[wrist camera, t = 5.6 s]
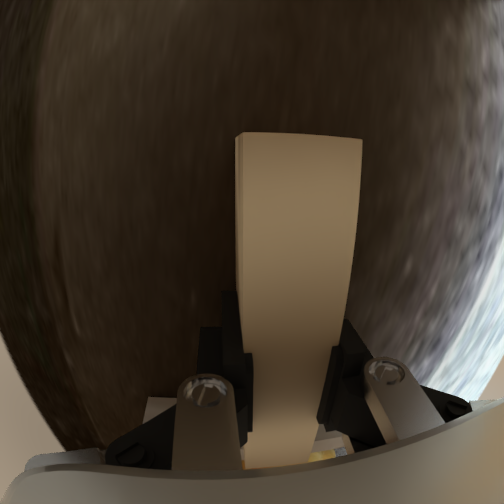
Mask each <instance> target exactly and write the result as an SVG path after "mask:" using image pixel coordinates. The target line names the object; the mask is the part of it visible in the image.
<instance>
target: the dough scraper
mask: <svg viewBox="0 0 504 504" xmlns="http://www.w3.org/2000/svg"><path fill="white" fill-rule="evenodd" d="M361 163H362V139H355V138H345V137H335V136H323V135H309V134H292V133H264V132H243V133H241V134H240V135H238V136H237V137H236V138H235V227H236V291H237V296H238V306H239V314H240V323H241V331H242V340H243V349H244V353H252V356H253V366H254V383H253V432H248V442H247V443H246V444H245V445H243V446H242V447H241V448H240V451H241V459H242V460H245V469H250V468H263V467H274V466H283V465H291V464H299V463H305V462H308V460H309V457H310V454H311V453H314V452H320V451H326V450H331V449H336V448H341V447H345V446H344V443H343V440H342V433H341V432H338V431H330V432H326V430H325V427H324V425H323V424H318V422H317V419H316V416H317V412H318V408H319V404H320V400H321V395H322V391H323V387H324V383H325V378H326V374H327V369H328V364H329V359H330V355H331V350H332V346H338V344H339V339H340V334H341V329H342V324H343V318H344V313H345V307H346V301H347V295H348V288H349V282H350V275H351V268H352V261H353V253H354V245H355V236H356V227H357V217H358V206H359V194H360V180H361ZM176 403H177V398H162V397H148V401H147V405H146V410H145V415H144V419H143V424H144V423H145V422H147V421H149V420H150V419H152V418H154V417H155V416H157V415H159V414H160V413H162V412H164V411H165V410H167V409H168V408H170V407H172V406H173V405H175V404H176Z"/></svg>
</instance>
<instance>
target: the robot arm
mask: <svg viewBox="0 0 504 504" xmlns="http://www.w3.org/2000/svg"><path fill="white" fill-rule="evenodd" d="M253 383H254V366H253V356H252V353H244V349H243V340H242V331H241V323H240V314H239V306H238V296H237V291H222V327H201V328H200V337H199V349H198V362H197V375H194V376H191V377H189V378H188V379H186V380H185V381H183V383H182V384H181V385H180V386H179V389H178V393H177V403H176V404H175V405H173V406H172V407H170V408H168V409H167V410H165V411H164V412H162V413H160V414H159V415H157V416H155V417H154V418H152V419H150V420H149V421H147V422H145V423H144V424H142V425H140V426H139V427H137V428H135V429H134V430H132V431H130V432H128V433H127V434H125V435H123V436H121V437H120V438H118V439H116V440H115V441H114V442H112V443H111V444H110V445H109V447H108V448H107V449H105V450H99V449H98V447H95V448H88V449H82V450H75V451H67V452H59V453H49V454H40V455H37V456H34V457H32V458H31V459H30V460H29V461H28V462H27V464H26V466H25V471H24V472H23V473H21V474H20V475H18V476H17V477H16V478H15V479H14V480H13V481H12V483H11V484H10V485H9V487H8V488H7V490H6V492H5V494H4V496H3V498H2V500H1V502H0V504H504V397H502V398H500V399H498V400H481V401H469V403H468V402H466V401H465V400H464V399H462V398H459V397H457V396H454V395H450V394H447V393H444V392H441V391H437V390H434V389H431V388H428V387H425V386H422V385H419V383H418V382H417V381H416V379H415V378H414V376H413V375H412V374H411V372H410V371H409V369H408V368H407V367H406V366H405V365H404V364H403V363H402V362H400V361H398V360H396V359H393V358H389V357H377V358H373V356H372V355H371V353H370V352H369V350H368V349H367V347H366V346H365V344H364V343H363V341H362V340H361V338H360V337H359V335H358V334H357V332H356V331H355V329H354V328H353V326H352V325H351V323H350V322H349V321H348V320H347V319H344V318H343V324H342V329H341V334H340V339H339V344H338V346H332V350H331V355H330V359H329V364H328V369H327V374H326V378H325V383H324V387H323V391H322V395H321V400H320V404H319V408H318V412H317V416H316V419H317V422H318V424H323V425H324V427H325V430H326V432H330V431H338V432H341V433H342V440H343V443H344V446H345V449H346V451H347V454H348V455H344V456H340V457H335V458H330V459H325V460H320V461H314V462H308V463H302V464H295V465H288V466H280V467H271V468H261V469H248V470H243V467H242V459H241V451H240V448H241V447H242V446H243V445H245V444H246V443H247V442H248V432H253Z"/></svg>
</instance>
